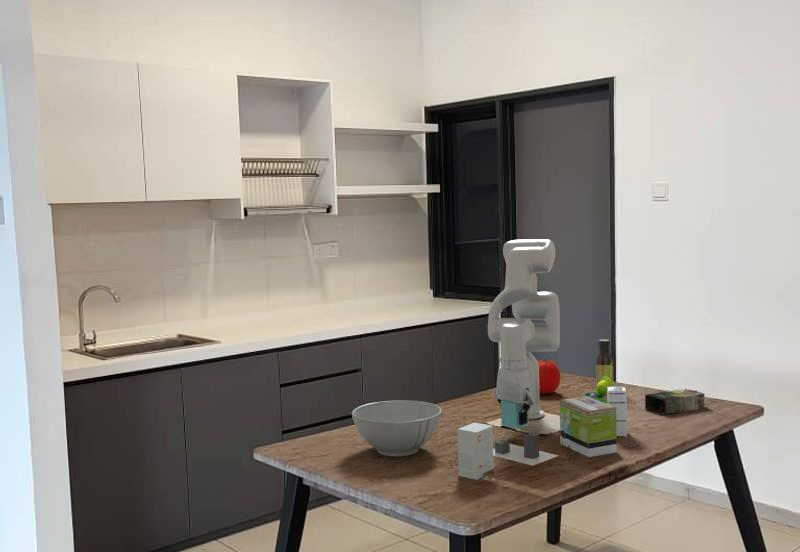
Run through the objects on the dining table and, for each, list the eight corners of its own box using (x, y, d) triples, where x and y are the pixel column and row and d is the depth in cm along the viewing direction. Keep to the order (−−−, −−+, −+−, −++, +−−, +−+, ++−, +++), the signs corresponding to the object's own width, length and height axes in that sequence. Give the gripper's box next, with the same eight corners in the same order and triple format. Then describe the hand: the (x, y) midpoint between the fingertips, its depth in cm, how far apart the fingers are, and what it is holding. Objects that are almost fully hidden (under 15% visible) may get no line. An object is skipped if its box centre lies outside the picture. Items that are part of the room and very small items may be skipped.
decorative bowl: (451, 460, 240) (450, 418, 239) (358, 467, 236) (357, 425, 234) (432, 435, 266) (431, 397, 265) (348, 441, 262) (347, 403, 261)
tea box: (558, 447, 249) (558, 398, 248) (587, 443, 253) (587, 395, 251) (588, 461, 235) (587, 409, 234) (618, 456, 239) (617, 405, 238)
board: (482, 456, 242) (482, 442, 242) (509, 447, 250) (509, 433, 250) (532, 469, 229) (532, 454, 229) (559, 459, 237) (558, 445, 237)
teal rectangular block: (501, 425, 256) (500, 400, 255) (513, 420, 260) (512, 396, 259) (516, 429, 252) (515, 403, 251) (528, 424, 256) (527, 399, 255)
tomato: (564, 390, 323) (563, 356, 322) (556, 397, 312) (555, 362, 310) (534, 388, 327) (534, 355, 326) (526, 395, 316) (525, 361, 315)
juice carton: (686, 402, 300) (686, 385, 299) (707, 408, 291) (708, 391, 290) (644, 411, 291) (643, 393, 290) (665, 417, 282) (665, 399, 281)
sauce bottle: (616, 393, 316) (616, 340, 315) (601, 394, 315) (600, 341, 313) (608, 389, 323) (608, 338, 321) (593, 390, 321) (593, 339, 320)
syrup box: (627, 437, 258) (627, 390, 257) (607, 436, 259) (607, 390, 258) (626, 432, 263) (626, 386, 262) (607, 431, 265) (606, 386, 263)
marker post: (524, 456, 237) (523, 434, 236) (530, 454, 239) (530, 432, 238) (532, 459, 235) (532, 436, 234) (539, 456, 237) (538, 434, 236)
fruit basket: (581, 409, 294) (581, 377, 293) (596, 404, 300) (596, 373, 299) (609, 414, 286) (609, 381, 285) (624, 409, 292) (623, 377, 291)
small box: (475, 468, 232) (474, 422, 231) (494, 472, 228) (493, 425, 227) (457, 476, 226) (456, 428, 225) (477, 480, 222) (476, 432, 221)
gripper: (483, 362, 257) (485, 419, 260) (528, 370, 245) (529, 430, 247) (499, 357, 262) (501, 413, 265) (544, 365, 250) (545, 424, 252)
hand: (514, 421), depth 256 cm, fingers closed on teal rectangular block, 5 cm apart
